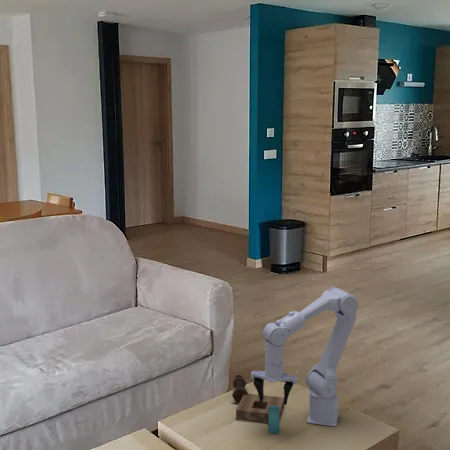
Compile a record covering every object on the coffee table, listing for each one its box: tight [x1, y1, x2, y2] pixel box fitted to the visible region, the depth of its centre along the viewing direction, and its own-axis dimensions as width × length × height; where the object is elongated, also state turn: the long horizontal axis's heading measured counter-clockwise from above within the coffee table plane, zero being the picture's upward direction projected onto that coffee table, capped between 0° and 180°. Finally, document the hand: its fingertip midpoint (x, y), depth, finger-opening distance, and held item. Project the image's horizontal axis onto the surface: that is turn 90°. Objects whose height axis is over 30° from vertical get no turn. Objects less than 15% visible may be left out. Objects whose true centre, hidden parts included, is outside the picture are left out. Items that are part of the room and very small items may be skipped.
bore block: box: [235, 393, 285, 425], centre depth 200 cm, size 14×12×4 cm
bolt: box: [231, 374, 249, 404], centre depth 214 cm, size 6×5×15 cm
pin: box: [268, 405, 280, 435], centre depth 189 cm, size 3×3×8 cm
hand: (273, 401), depth 188 cm, fingers open, 7 cm apart
